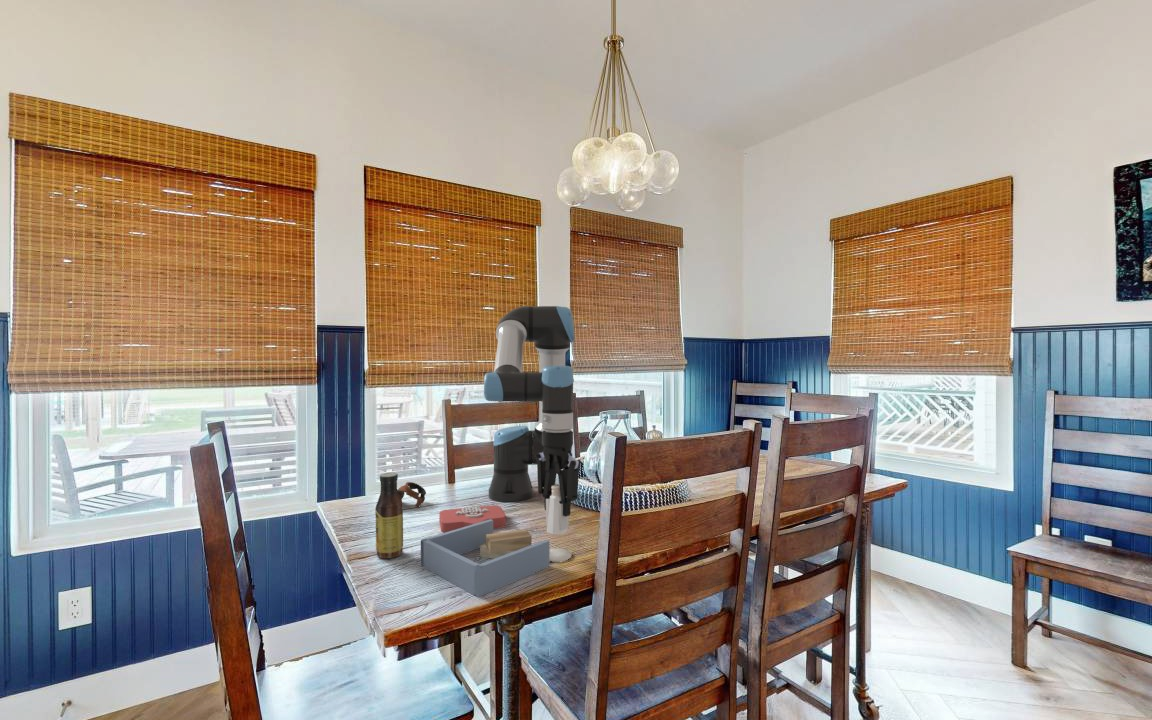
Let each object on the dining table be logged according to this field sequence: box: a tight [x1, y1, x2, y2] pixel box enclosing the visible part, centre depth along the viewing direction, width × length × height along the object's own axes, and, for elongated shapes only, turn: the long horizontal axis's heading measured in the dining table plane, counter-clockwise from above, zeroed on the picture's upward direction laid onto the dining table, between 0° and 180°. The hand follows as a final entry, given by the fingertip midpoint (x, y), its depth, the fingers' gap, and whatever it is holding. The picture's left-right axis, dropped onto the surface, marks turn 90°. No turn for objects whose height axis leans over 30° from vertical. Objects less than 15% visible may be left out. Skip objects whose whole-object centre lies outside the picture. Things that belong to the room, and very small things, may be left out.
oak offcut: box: [486, 529, 532, 553], centre depth 125 cm, size 5×10×3 cm, turn 112°
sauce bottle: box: [374, 471, 404, 559], centre depth 125 cm, size 7×6×20 cm
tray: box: [420, 519, 550, 598], centre depth 119 cm, size 20×22×6 cm
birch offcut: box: [479, 543, 519, 559], centre depth 125 cm, size 5×13×3 cm, turn 66°
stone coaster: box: [549, 547, 573, 563], centre depth 125 cm, size 7×7×1 cm
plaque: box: [438, 505, 507, 533], centre depth 147 cm, size 18×4×15 cm
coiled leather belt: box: [397, 481, 427, 508], centre depth 164 cm, size 12×10×8 cm
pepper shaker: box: [546, 484, 569, 536], centre depth 124 cm, size 5×5×11 cm
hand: (557, 526), depth 125 cm, fingers closed on pepper shaker, 4 cm apart
